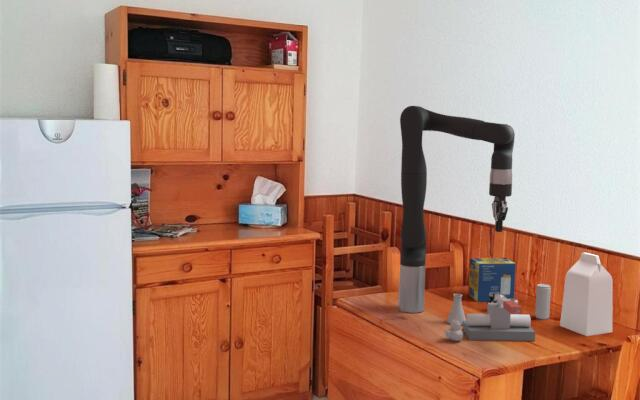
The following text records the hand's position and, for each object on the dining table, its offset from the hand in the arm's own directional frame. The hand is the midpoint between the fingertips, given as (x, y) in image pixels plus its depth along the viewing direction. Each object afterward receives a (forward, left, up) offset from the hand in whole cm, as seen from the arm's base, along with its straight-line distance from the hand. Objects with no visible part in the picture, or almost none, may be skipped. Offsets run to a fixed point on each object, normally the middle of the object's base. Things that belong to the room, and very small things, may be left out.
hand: (498, 231), depth 227 cm
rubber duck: (-19, -22, -32) cm, 43 cm away
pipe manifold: (-3, -16, -32) cm, 36 cm away
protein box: (+6, +30, -32) cm, 44 cm away
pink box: (-2, -23, -20) cm, 31 cm away
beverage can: (+18, +4, -32) cm, 37 cm away
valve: (+6, +8, -32) cm, 34 cm away
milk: (+29, -8, -32) cm, 44 cm away
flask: (-14, -3, -32) cm, 35 cm away
